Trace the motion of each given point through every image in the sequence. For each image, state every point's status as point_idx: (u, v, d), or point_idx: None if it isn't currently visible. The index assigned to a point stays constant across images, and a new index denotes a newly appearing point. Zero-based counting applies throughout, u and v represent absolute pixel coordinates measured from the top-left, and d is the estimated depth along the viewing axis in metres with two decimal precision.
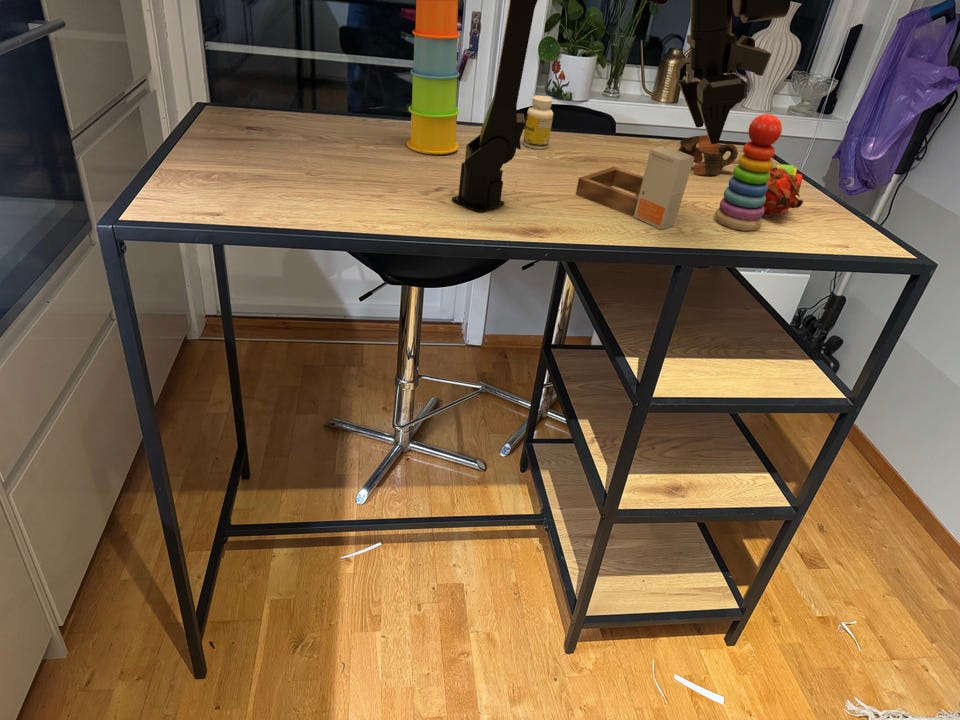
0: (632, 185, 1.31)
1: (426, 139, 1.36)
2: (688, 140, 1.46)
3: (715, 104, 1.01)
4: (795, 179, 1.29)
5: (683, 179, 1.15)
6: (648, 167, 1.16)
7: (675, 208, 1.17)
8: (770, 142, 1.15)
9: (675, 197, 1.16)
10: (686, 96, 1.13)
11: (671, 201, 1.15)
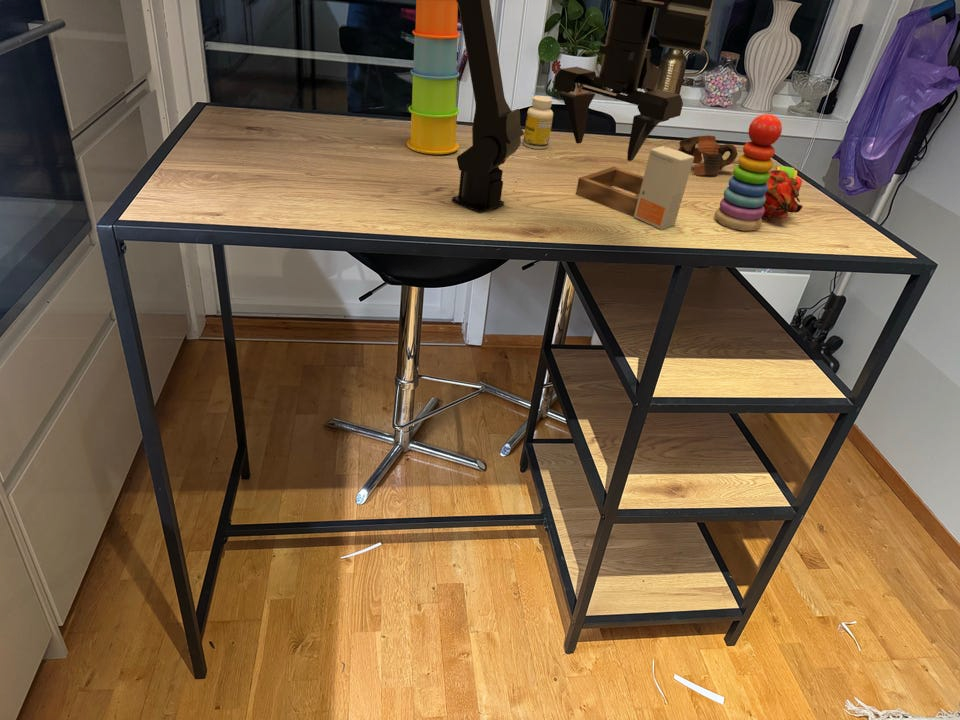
0: (632, 185, 1.31)
1: (426, 139, 1.36)
2: (687, 141, 1.46)
3: (658, 120, 0.98)
4: (796, 183, 1.28)
5: (683, 179, 1.15)
6: (648, 167, 1.16)
7: (675, 208, 1.17)
8: (770, 142, 1.15)
9: (675, 197, 1.16)
10: (575, 110, 1.05)
11: (671, 201, 1.15)
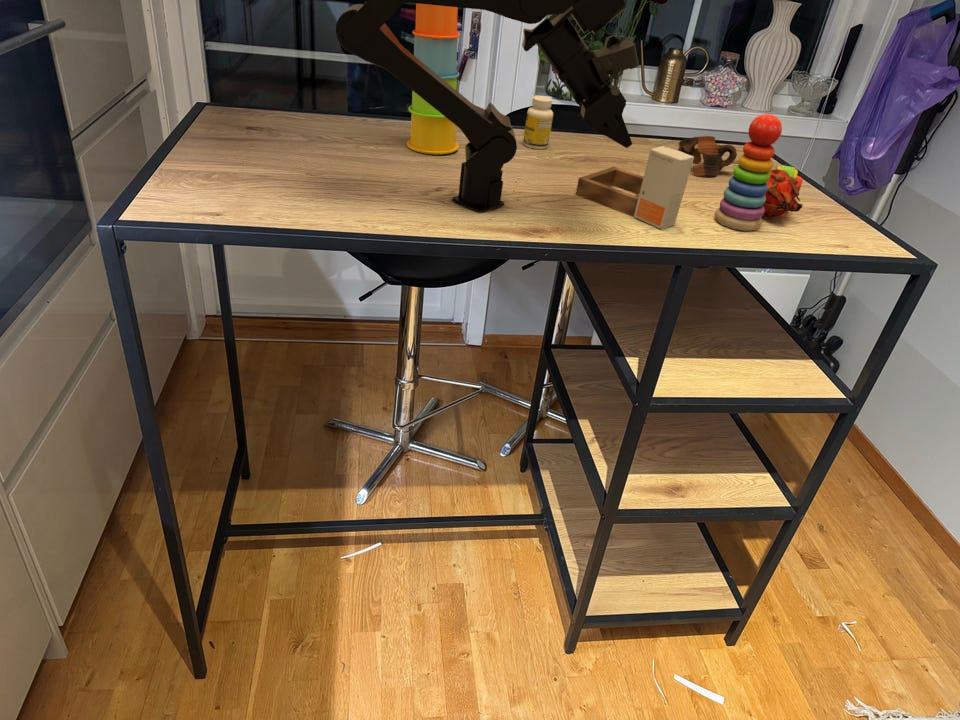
0: (632, 185, 1.31)
1: (426, 139, 1.36)
2: (687, 141, 1.45)
3: (603, 121, 1.03)
4: (796, 182, 1.28)
5: (683, 179, 1.15)
6: (648, 167, 1.16)
7: (675, 208, 1.17)
8: (770, 142, 1.15)
9: (675, 197, 1.16)
10: None
11: (671, 201, 1.15)
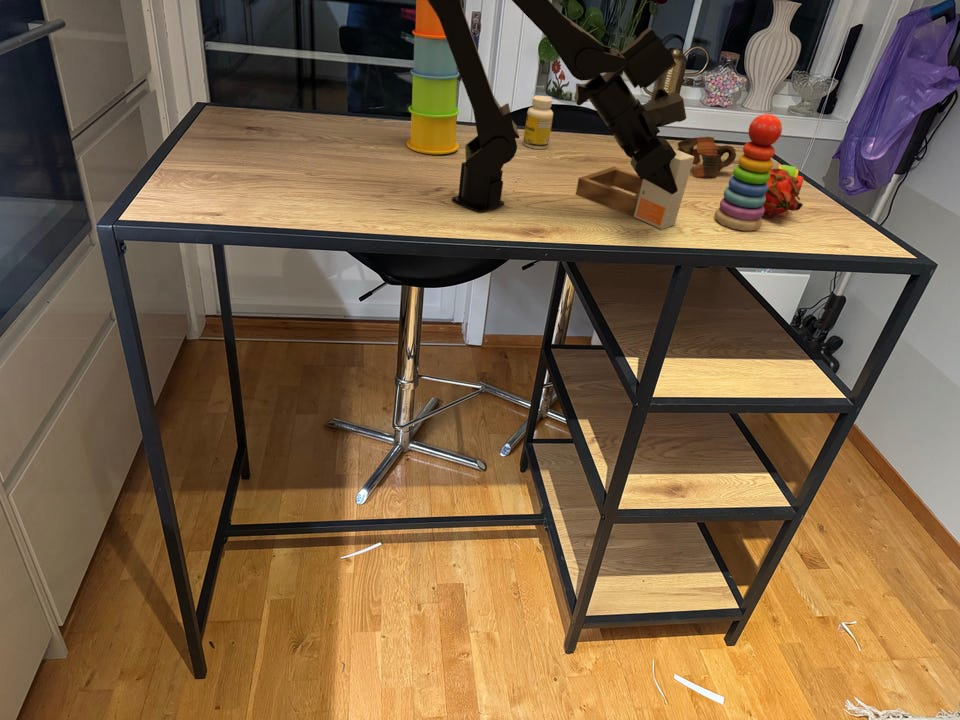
0: (632, 185, 1.31)
1: (426, 139, 1.36)
2: (686, 142, 1.45)
3: None
4: (796, 181, 1.29)
5: (683, 178, 1.15)
6: None
7: (675, 208, 1.17)
8: (770, 142, 1.15)
9: (675, 197, 1.16)
10: None
11: (671, 200, 1.15)
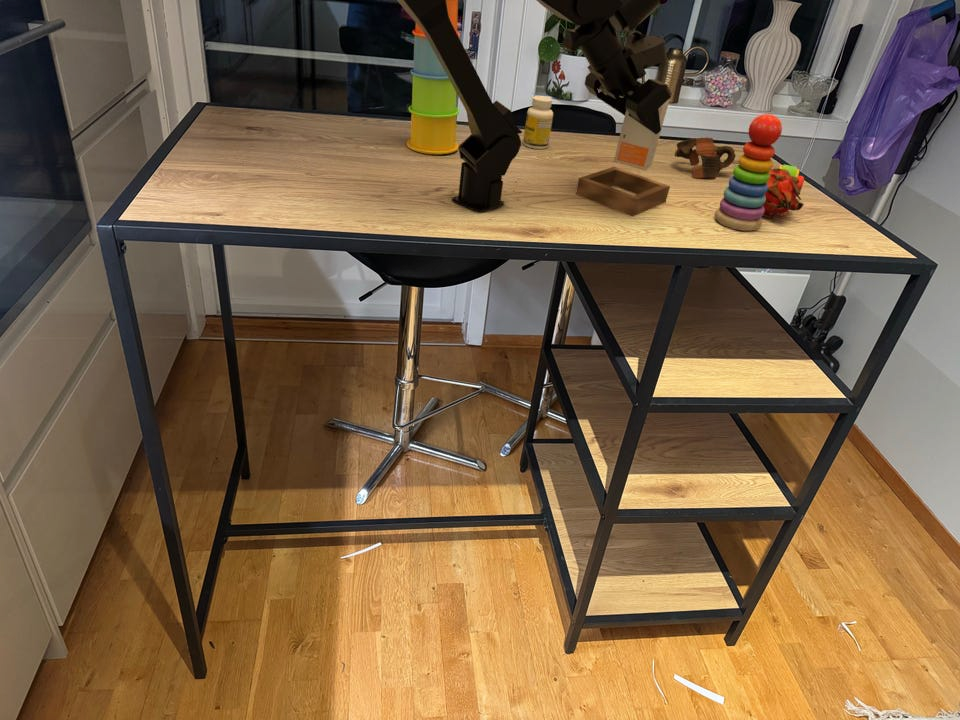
0: (632, 185, 1.31)
1: (426, 139, 1.36)
2: (685, 143, 1.44)
3: None
4: (797, 181, 1.29)
5: (662, 119, 1.20)
6: None
7: (654, 148, 1.22)
8: (770, 142, 1.15)
9: (656, 138, 1.21)
10: (612, 105, 1.21)
11: (653, 141, 1.20)
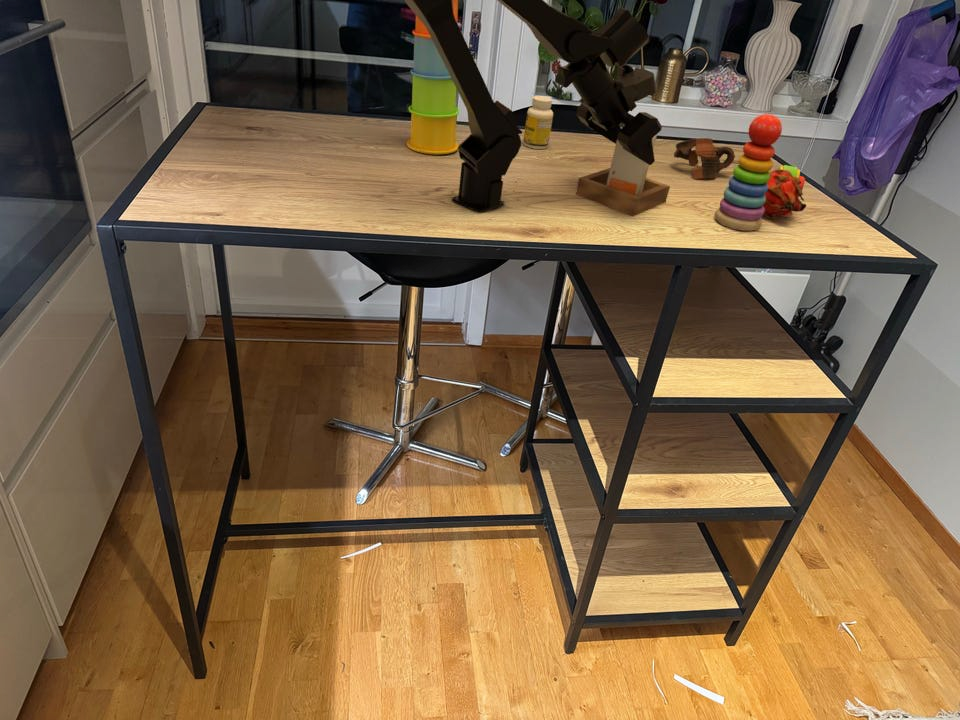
0: None
1: (426, 139, 1.36)
2: (684, 143, 1.44)
3: None
4: (799, 182, 1.28)
5: None
6: (617, 148, 1.23)
7: (643, 183, 1.26)
8: (770, 142, 1.15)
9: (644, 173, 1.25)
10: (601, 133, 1.25)
11: (642, 177, 1.24)
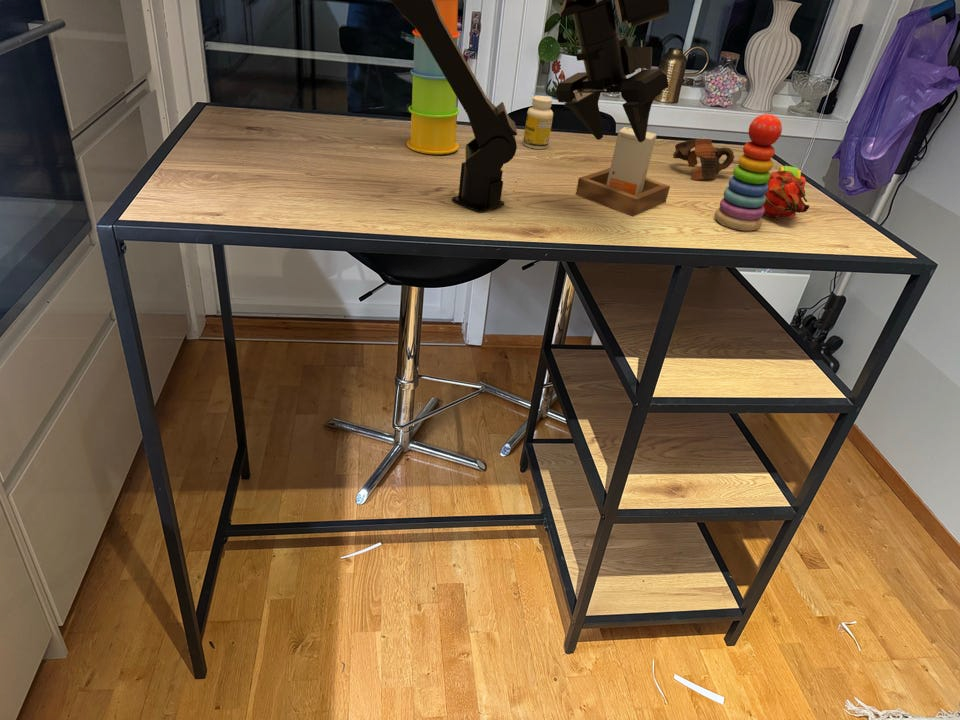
0: None
1: (426, 139, 1.36)
2: (684, 144, 1.43)
3: (646, 100, 1.02)
4: (801, 183, 1.28)
5: (650, 156, 1.23)
6: (617, 148, 1.23)
7: (643, 183, 1.26)
8: (770, 142, 1.15)
9: (644, 174, 1.25)
10: (582, 114, 1.13)
11: (642, 177, 1.24)
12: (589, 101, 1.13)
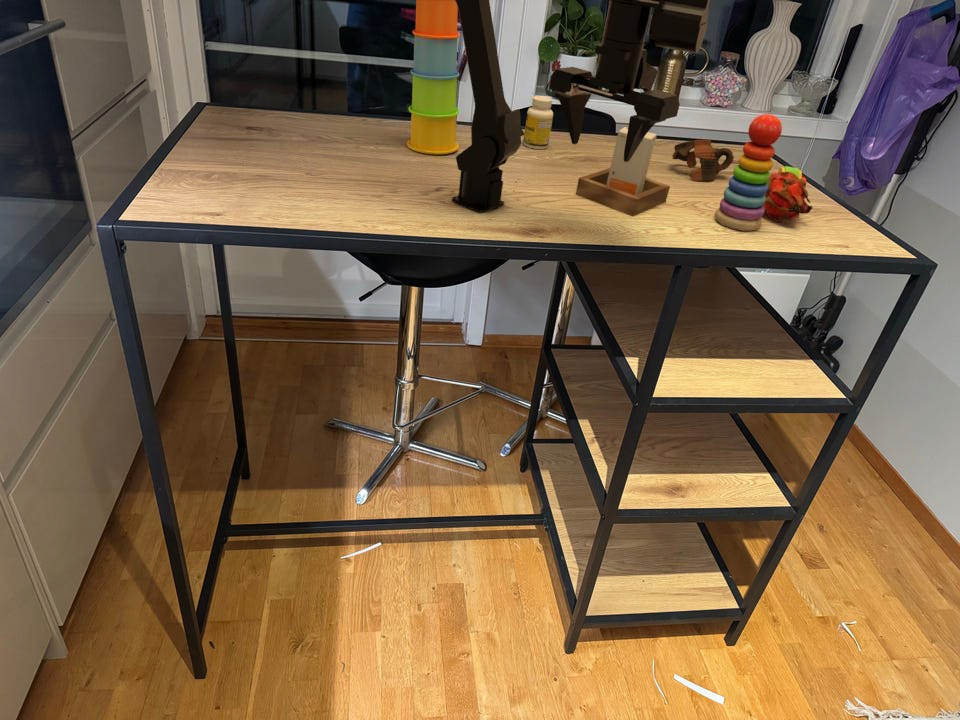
0: None
1: (426, 139, 1.36)
2: (683, 145, 1.43)
3: (655, 121, 0.97)
4: (804, 183, 1.28)
5: (650, 156, 1.23)
6: (617, 148, 1.23)
7: (643, 183, 1.26)
8: (770, 142, 1.15)
9: (644, 174, 1.25)
10: (571, 111, 1.04)
11: (642, 177, 1.24)
12: (580, 101, 1.05)
